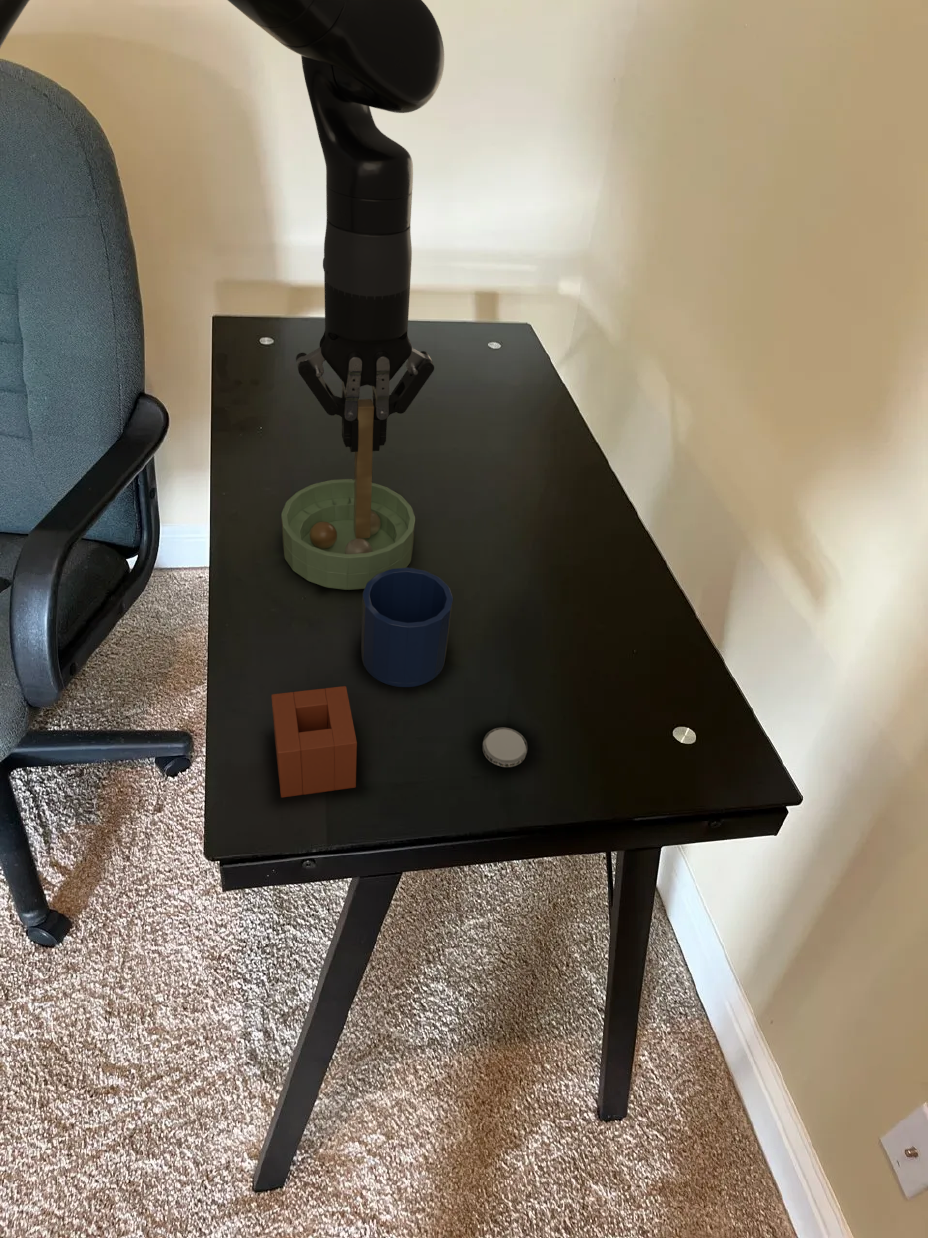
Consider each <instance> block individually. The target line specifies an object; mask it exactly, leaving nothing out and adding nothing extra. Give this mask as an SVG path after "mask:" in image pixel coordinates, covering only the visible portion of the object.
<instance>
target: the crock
mask: <svg viewBox="0 0 928 1238" xmlns="http://www.w3.org/2000/svg"><path fill="white" fill-rule="evenodd" d="M453 602H454V597H453V594H452V591H451V588H450V586H449V585H448V584H447V583H446V582H445V581H444V580H443V579H442V578H441V577H440V576H437V575H435V574H433V573H431V572H429V571H427V570H425V569H424V570H423V569H419V568H414V567H406V568H397V569H390V570H387V571H385V572H382V573H379V574H377V575H376V576H375V577H373V578H372V579H371V580H370V581H369V582H368V583H367V584H366V587H365V589H363V592H362V603H361V605H362V607H361V613H362V614H361V641H360V642H361V644H360V652H361V661H362V664H363V666H364V669H365V670H366V671H367V673H368V674H369V675H370V676H371V677H372V678H374V679H375V680H377V681H378V682H381V683H383V684H385V685H388V686H390V687H391V686H392V687H395V688H396V687H397V688H414V687H419V686H423V685H425V684H427V683H430V682H431V681H433V680H434V679H435V678H437V677H438V676H439V675H440V673H442V670H443V669H444V667H445V661H446V656H447V650H448V644H449V635H450V627H451V620H452V612H453Z"/></svg>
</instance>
